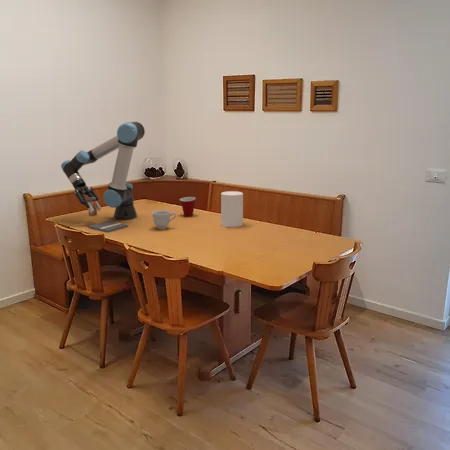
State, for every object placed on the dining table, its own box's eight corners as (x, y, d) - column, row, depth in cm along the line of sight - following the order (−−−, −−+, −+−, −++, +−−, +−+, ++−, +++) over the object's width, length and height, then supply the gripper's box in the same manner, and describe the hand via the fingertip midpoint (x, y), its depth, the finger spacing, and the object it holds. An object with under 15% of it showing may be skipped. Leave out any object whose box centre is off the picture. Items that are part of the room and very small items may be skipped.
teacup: (175, 230, 293) (174, 214, 290) (150, 230, 293) (149, 214, 290) (177, 225, 304) (177, 209, 302) (153, 225, 305) (153, 209, 302)
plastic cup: (177, 214, 332) (177, 197, 329) (192, 213, 336) (192, 196, 333) (183, 218, 323) (182, 200, 320) (198, 216, 327) (198, 199, 324)
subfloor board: (108, 222, 312) (108, 220, 311) (128, 226, 301) (128, 224, 301) (88, 227, 299) (88, 225, 299) (108, 232, 289) (108, 230, 289)
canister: (234, 228, 297) (234, 196, 292) (217, 225, 305) (216, 193, 300) (247, 223, 307) (247, 192, 302) (229, 220, 315) (229, 190, 310)
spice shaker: (93, 213, 310) (92, 196, 307) (98, 214, 307) (97, 197, 304) (87, 215, 306) (85, 198, 303) (92, 216, 303) (90, 199, 300)
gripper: (86, 183, 318) (105, 211, 312) (63, 187, 304) (82, 217, 298) (91, 176, 313) (110, 204, 308) (67, 180, 299) (86, 209, 294)
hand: (96, 210), depth 303 cm, fingers closed on spice shaker, 5 cm apart
